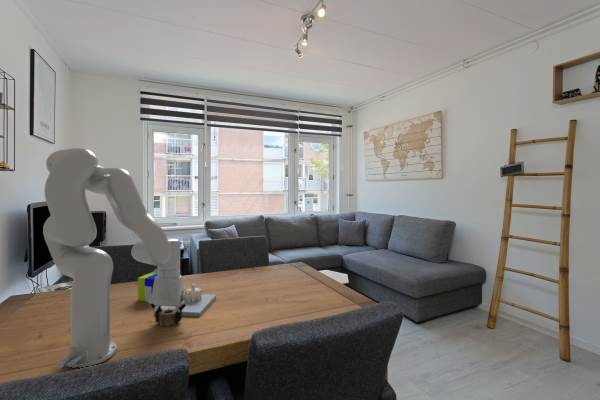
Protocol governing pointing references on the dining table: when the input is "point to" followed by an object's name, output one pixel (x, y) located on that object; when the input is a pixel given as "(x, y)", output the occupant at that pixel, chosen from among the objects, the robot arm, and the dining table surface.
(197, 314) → the gear board
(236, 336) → the dining table surface
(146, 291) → the puzzle toy
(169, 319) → the walnut gear
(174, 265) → the robot arm
